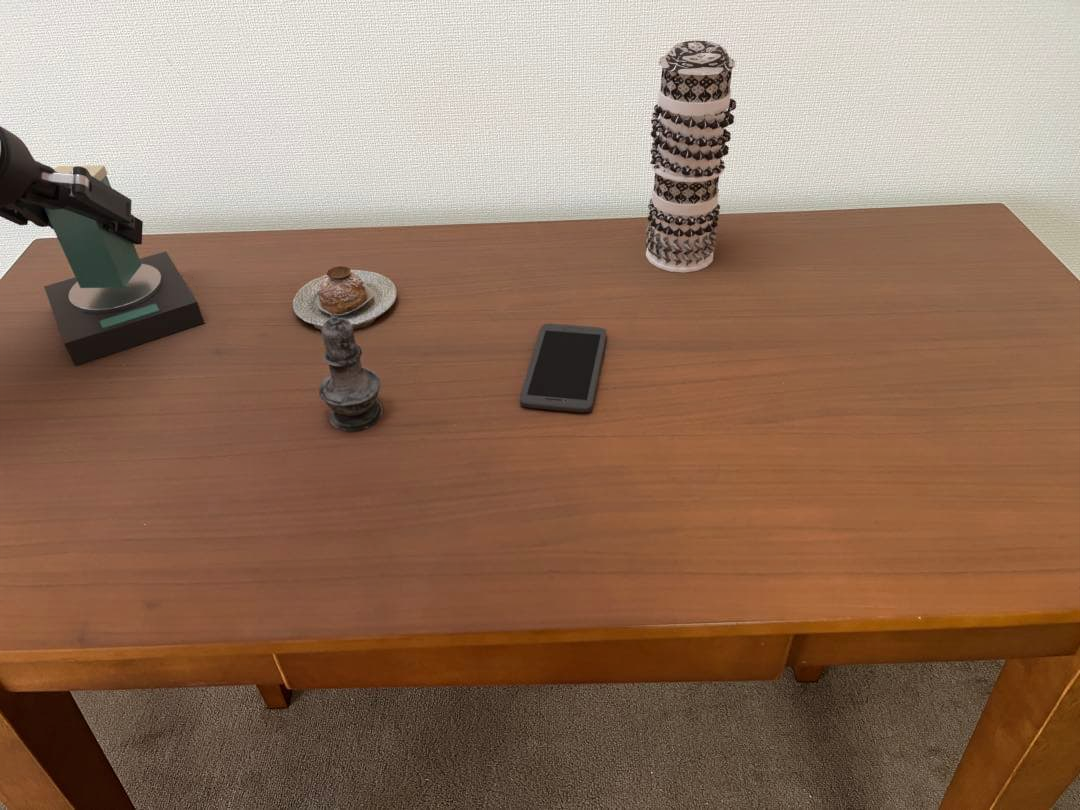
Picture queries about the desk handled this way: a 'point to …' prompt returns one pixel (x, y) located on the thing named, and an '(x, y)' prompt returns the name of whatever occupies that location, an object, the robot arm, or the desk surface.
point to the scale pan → (117, 293)
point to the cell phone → (564, 368)
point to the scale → (125, 316)
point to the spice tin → (93, 244)
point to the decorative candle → (689, 155)
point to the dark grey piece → (348, 380)
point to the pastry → (345, 297)
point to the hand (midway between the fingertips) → (114, 233)
